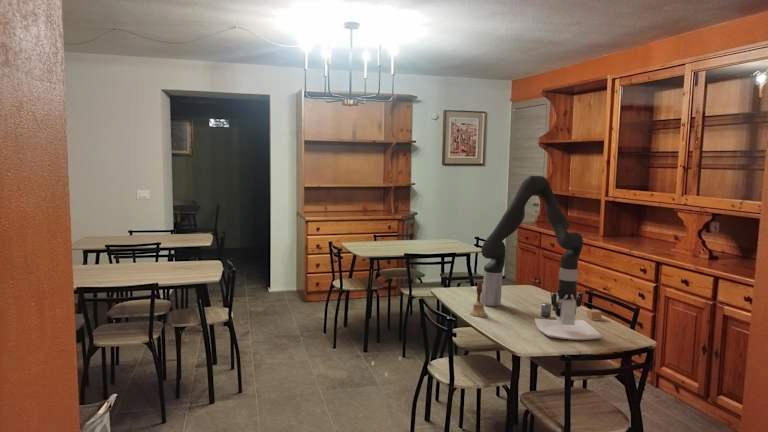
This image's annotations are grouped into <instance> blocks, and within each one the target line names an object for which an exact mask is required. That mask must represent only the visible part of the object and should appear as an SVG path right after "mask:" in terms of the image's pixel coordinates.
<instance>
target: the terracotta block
mask: <svg viewBox="0 0 768 432" xmlns="http://www.w3.org/2000/svg"><path fill="white" fill-rule="evenodd" d="M586 310H587V311H586V318H587V317H588V318H589V320H590V319H591V320H590V321H595V320H594V319H601V320H602V316H603V312H602V311H600V309H586ZM588 318H587V319H588Z"/></svg>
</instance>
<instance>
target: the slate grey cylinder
mask: <svg viewBox="0 0 768 432" xmlns="http://www.w3.org/2000/svg"><path fill="white" fill-rule="evenodd" d="M551 315H552V304H551V303H548V302H542V303H541V312H540V317H541V318H543V319H544V318H545V319H548V318H549V319H550V318H551V317H552V316H551Z"/></svg>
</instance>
